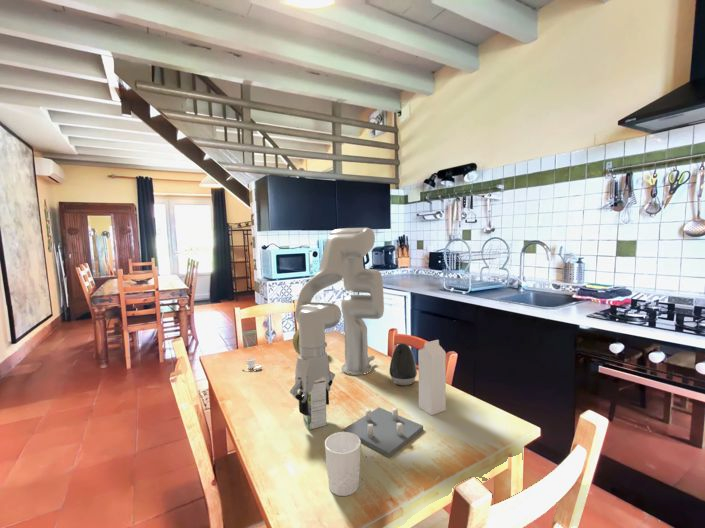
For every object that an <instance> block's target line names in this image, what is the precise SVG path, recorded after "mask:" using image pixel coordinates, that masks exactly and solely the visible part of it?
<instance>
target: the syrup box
mask: <svg viewBox="0 0 705 528" xmlns="http://www.w3.org/2000/svg"><path fill="white" fill-rule="evenodd" d="M303 395H304V392H303ZM303 395H302V396H303ZM306 401H307V402H308V415H307V416H305V415H303V414H302V415H303V422H304V424H305V426H306V427H307V428H306V429H307V430H309V431H310V430H313V429H317V428H321V427H324V426H327V405H326V379H325V378H324V377H321V378H318V379H316V380H315V382H314V385H313V388H312V391H311V392H309V393H307V399H306Z"/></svg>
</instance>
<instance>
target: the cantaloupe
mask: <svg viewBox="0 0 705 528" xmlns="http://www.w3.org/2000/svg"><path fill="white" fill-rule="evenodd" d="M292 336H293V337H292V346H293V348H294V350H295V352H296V353H297V354H298V355H299V356H300V343H299V328H298V329H297V330H296V331H295V332H294V334H293V335H292Z"/></svg>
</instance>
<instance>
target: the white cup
mask: <svg viewBox="0 0 705 528" xmlns="http://www.w3.org/2000/svg"><path fill="white" fill-rule="evenodd" d="M361 444H362V443H361V441H360V438H359V437H358V436H357V435H355V434H353V433H350V432H344V431H337V432H335V433H332V434H330V435H329V436H328V437H326V439H325V440H324V450H325V464H326V473H327V480H328V481H327V482H328V489H329V490H330V491H331V493H332V494H333V495H335V496H339V497H347V496H352V495H353V494H354V493H355V492H357V490H358V489H359V486H360V473H361V471H360V470H361Z"/></svg>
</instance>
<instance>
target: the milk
mask: <svg viewBox="0 0 705 528" xmlns="http://www.w3.org/2000/svg"><path fill="white" fill-rule="evenodd" d="M417 351H418V360H417V361H418V407H419V409H421V410H423V411H424V412H426V413H427V414H429V415H430V416H433V415H436V414H439V413H442V412H445V411H446V408H447V407H446V406H447V403H446V401H447V399H446V397H447V393H446V392H447V391H446V388H447V387H446V386H447V385H446V384H447V383H446V382H447V381H446V378H447V377H446V374H447V373H446V370H447V369H446V363H447V362H446V351H445V349H443V347H442V346H441V345H440V340H439V339H435V340H431V341H426V342H424V347H422V348H419V349H418V350H417Z"/></svg>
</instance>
